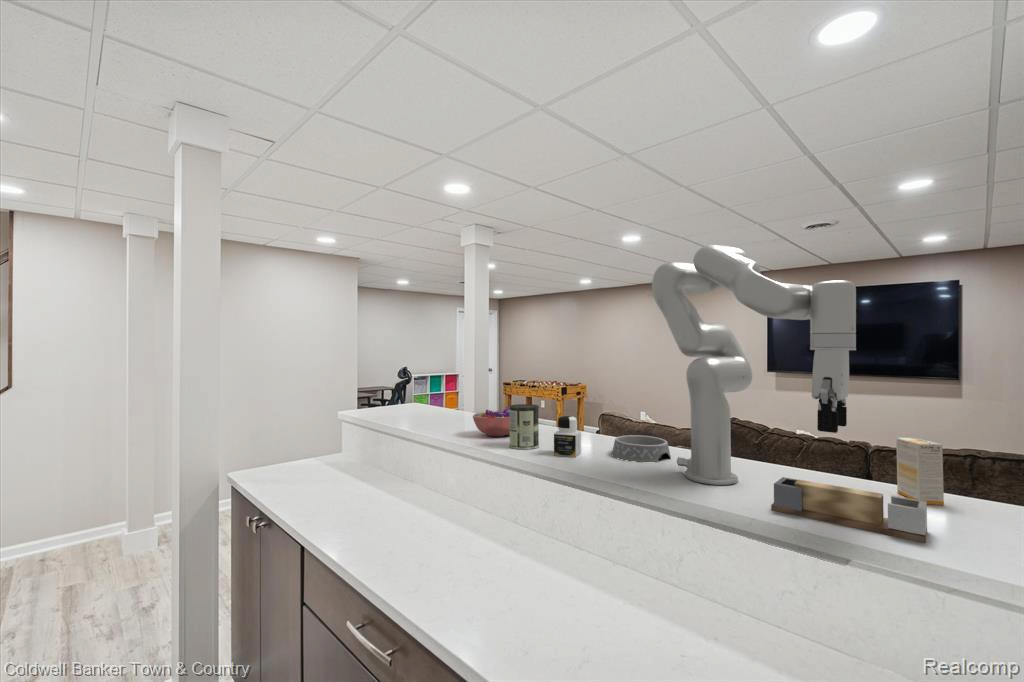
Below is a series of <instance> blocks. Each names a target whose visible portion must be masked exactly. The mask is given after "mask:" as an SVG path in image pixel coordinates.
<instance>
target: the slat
mask: <svg viewBox="0 0 1024 682" xmlns="http://www.w3.org/2000/svg"><path fill="white" fill-rule="evenodd" d="M794 486H796V487H802V488H803V509H805V510H810V511H815V512H819V513H824V514H829V515H834V516H839V517H844V518H849V519H853V520H858V521H863V522H868V523H873V524H878V525H882V523H883V521H884V518H885V517H884V516H885V515H884V493H881V492H874V491H869V490H863V489H856V488H850V487H846V486H845V487H844V486H839V485H832V484H827V483H821V482H815V481H809V480H803V479H797V481H796V482H795V483H794Z"/></svg>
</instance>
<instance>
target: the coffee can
mask: <svg viewBox="0 0 1024 682" xmlns="http://www.w3.org/2000/svg"><path fill="white" fill-rule="evenodd" d="M508 407H509V408H510V435H509V448H511V449H513V450H514V449H515V450H521V449H522V450H523V451H524V450H525V451H527V450H534V449H538V448H539V446H540V445H539V442H540V441H539V436H540V435H539V419H540V418H539V408H540V406H539V405H537V404H531V403H530V404H529V403H528V404H525V403H523V404H511V405H509V406H508Z"/></svg>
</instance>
